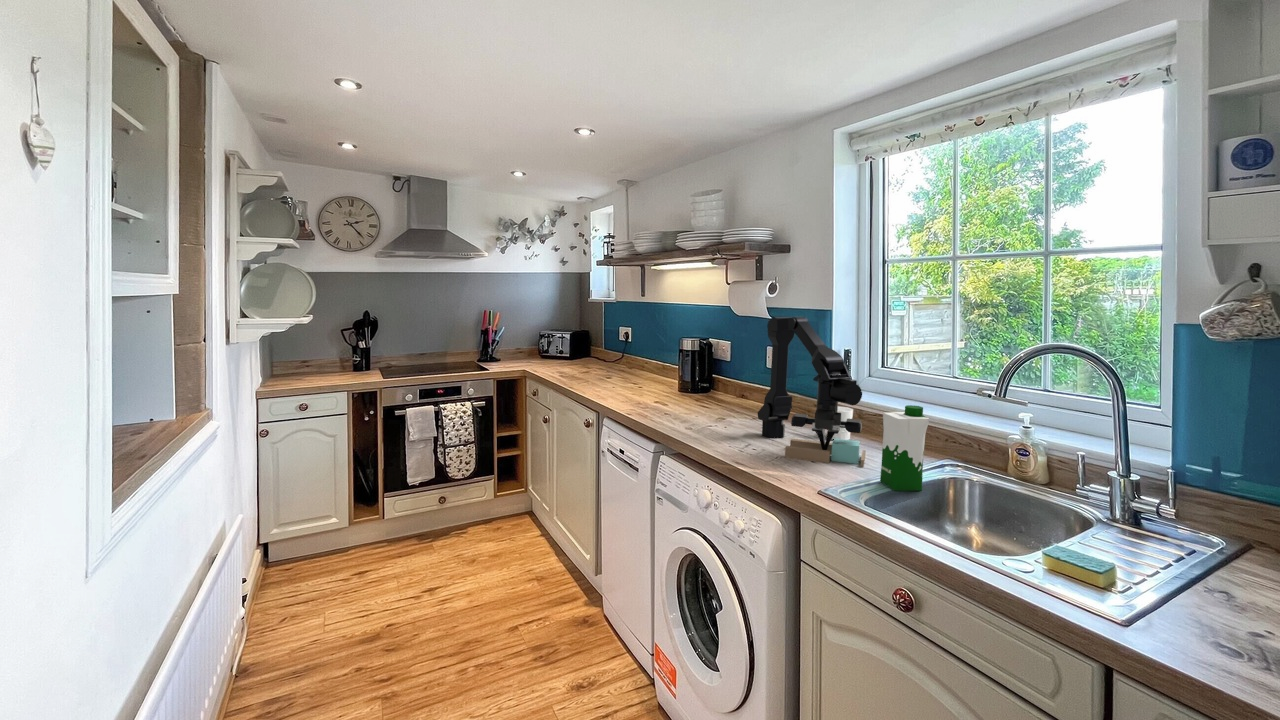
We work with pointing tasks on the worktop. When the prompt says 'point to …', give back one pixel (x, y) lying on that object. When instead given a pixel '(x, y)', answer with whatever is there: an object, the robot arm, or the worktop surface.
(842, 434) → the white cup
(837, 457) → the block
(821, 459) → the chute
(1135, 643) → the worktop surface
